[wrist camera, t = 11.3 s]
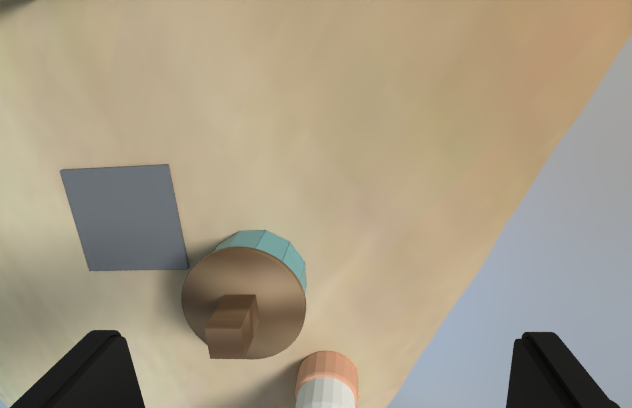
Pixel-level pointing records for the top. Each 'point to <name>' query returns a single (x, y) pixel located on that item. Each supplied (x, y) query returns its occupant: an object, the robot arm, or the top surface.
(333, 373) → the salt shaker
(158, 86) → the top surface
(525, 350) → the robot arm
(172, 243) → the mat
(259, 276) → the lid
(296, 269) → the bowl
